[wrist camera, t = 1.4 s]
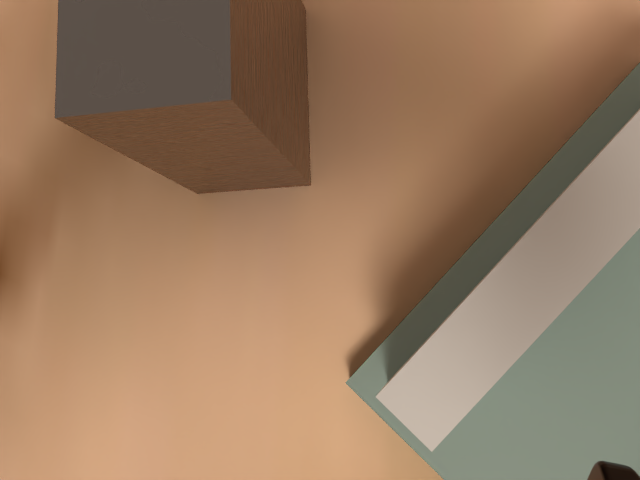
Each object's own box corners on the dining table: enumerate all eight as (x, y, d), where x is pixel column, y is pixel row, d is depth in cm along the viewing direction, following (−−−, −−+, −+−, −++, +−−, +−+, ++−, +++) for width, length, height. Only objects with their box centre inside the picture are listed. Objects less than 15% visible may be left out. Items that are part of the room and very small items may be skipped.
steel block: (197, 193, 24) (54, 117, 15) (197, 24, 24) (62, -142, 16) (310, 185, 23) (231, 99, 14) (305, 10, 24) (228, -173, 15)
